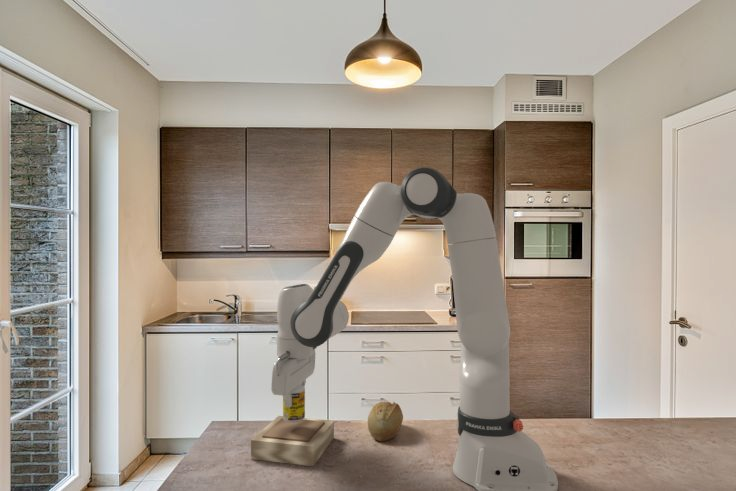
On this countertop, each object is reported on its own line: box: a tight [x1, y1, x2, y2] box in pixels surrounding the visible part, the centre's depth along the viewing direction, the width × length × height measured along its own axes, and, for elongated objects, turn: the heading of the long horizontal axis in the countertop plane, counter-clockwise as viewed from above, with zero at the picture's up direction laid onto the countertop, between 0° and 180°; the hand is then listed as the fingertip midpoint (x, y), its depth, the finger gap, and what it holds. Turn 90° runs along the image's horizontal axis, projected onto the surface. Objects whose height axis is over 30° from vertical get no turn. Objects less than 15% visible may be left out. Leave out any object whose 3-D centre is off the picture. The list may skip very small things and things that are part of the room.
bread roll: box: [367, 401, 404, 442], centre depth 125 cm, size 10×15×8 cm, turn 171°
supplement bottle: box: [282, 380, 306, 423], centre depth 115 cm, size 6×6×10 cm
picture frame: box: [250, 415, 335, 467], centre depth 115 cm, size 16×16×5 cm
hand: (294, 401), depth 115 cm, fingers closed on supplement bottle, 6 cm apart
